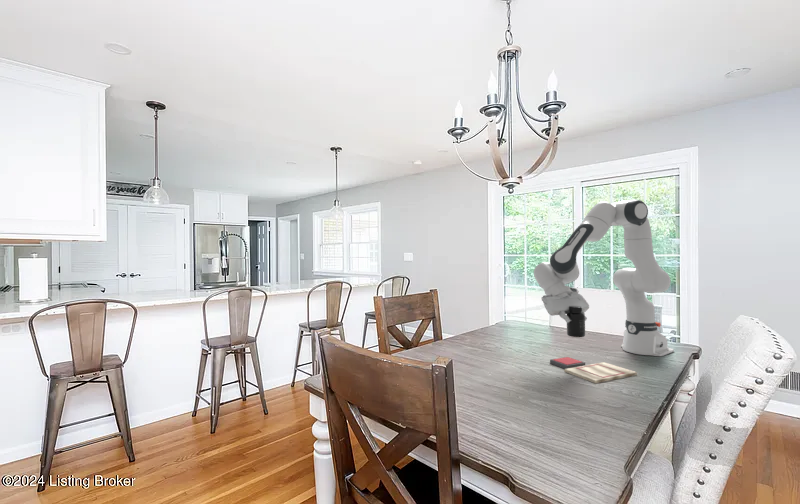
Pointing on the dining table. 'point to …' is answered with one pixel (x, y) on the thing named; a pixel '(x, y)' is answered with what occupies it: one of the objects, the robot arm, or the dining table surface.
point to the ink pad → (567, 362)
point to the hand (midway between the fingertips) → (577, 321)
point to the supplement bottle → (576, 322)
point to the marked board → (600, 372)
